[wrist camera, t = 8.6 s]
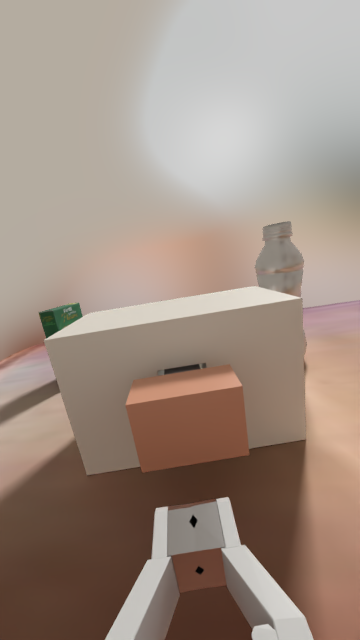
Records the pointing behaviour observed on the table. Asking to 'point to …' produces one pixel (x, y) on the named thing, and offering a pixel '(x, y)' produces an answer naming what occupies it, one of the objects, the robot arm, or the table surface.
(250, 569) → the robot arm
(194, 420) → the key
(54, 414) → the table surface
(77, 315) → the coffee box
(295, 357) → the box
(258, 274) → the plastic bottle
